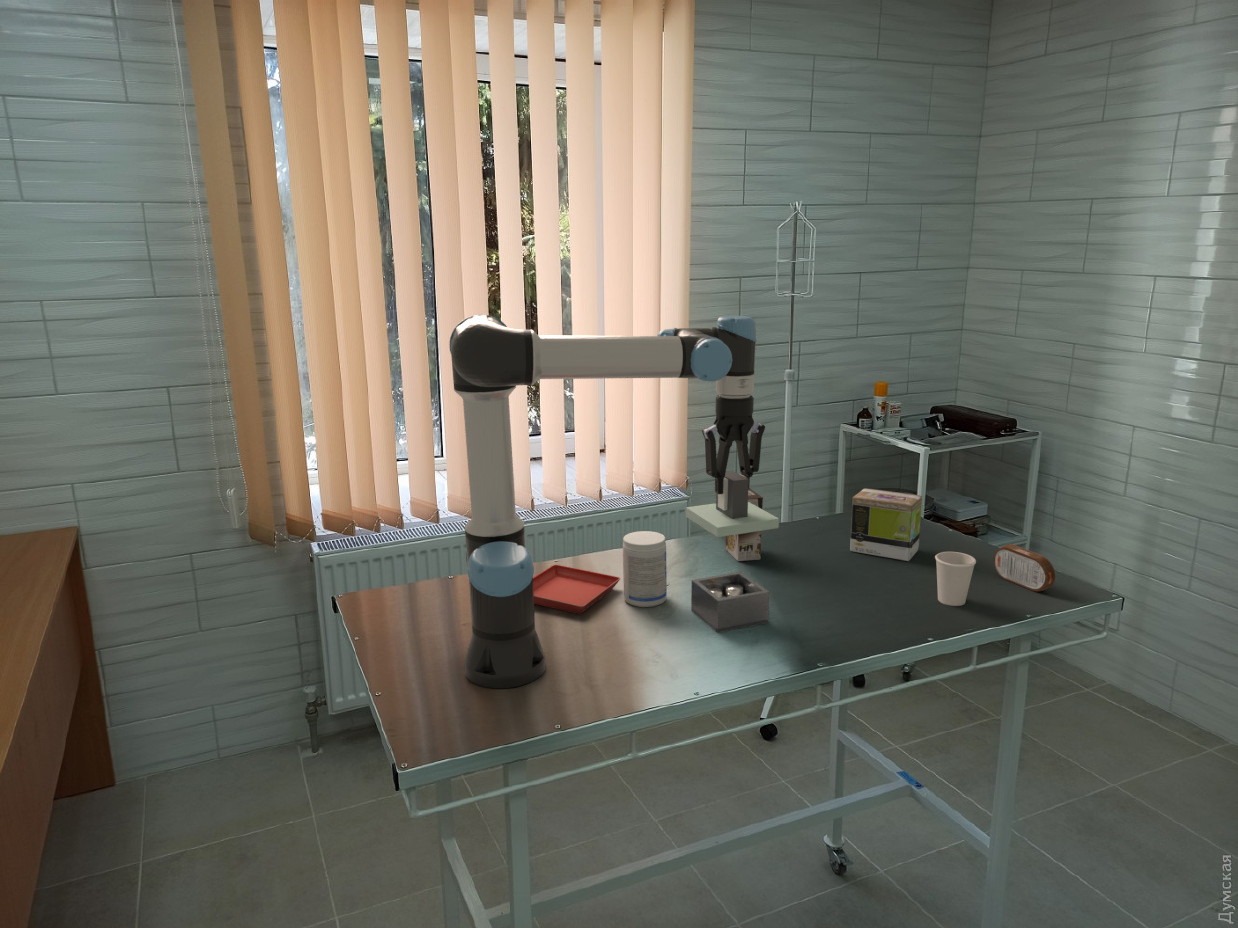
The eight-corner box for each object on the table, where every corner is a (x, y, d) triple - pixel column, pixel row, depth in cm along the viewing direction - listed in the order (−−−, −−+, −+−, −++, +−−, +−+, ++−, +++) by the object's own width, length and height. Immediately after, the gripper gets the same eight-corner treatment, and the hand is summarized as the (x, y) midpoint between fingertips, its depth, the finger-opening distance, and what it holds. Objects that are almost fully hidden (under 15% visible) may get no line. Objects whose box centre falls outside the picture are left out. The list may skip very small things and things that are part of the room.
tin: (1054, 594, 199) (1058, 559, 197) (1044, 597, 198) (1048, 562, 196) (998, 572, 212) (1002, 539, 210) (989, 574, 211) (992, 541, 209)
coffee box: (761, 559, 222) (763, 497, 217) (737, 561, 220) (739, 499, 216) (748, 547, 230) (750, 487, 226) (724, 549, 229) (726, 489, 224)
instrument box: (717, 632, 182) (718, 601, 180) (691, 610, 193) (691, 579, 191) (768, 622, 187) (769, 591, 185) (739, 601, 197) (740, 571, 195)
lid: (717, 537, 175) (718, 488, 173) (685, 516, 188) (686, 470, 185) (778, 527, 180) (780, 480, 178) (744, 508, 193) (745, 463, 190)
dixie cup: (928, 604, 195) (932, 561, 192) (934, 590, 202) (938, 548, 200) (969, 611, 191) (973, 567, 189) (974, 597, 198) (978, 554, 196)
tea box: (919, 550, 227) (923, 494, 223) (908, 562, 219) (913, 505, 215) (860, 540, 235) (864, 486, 231) (848, 551, 226) (851, 496, 223)
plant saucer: (621, 589, 205) (621, 576, 204) (583, 620, 190) (582, 605, 189) (554, 576, 213) (554, 563, 212) (512, 604, 198) (511, 590, 197)
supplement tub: (675, 602, 197) (675, 539, 193) (639, 612, 192) (639, 548, 188) (649, 587, 205) (649, 527, 201) (615, 597, 200) (614, 535, 196)
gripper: (706, 401, 171) (704, 517, 177) (780, 394, 177) (776, 507, 183) (688, 394, 178) (687, 506, 184) (761, 388, 184) (757, 497, 190)
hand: (731, 506), depth 183 cm, fingers closed on lid, 3 cm apart
